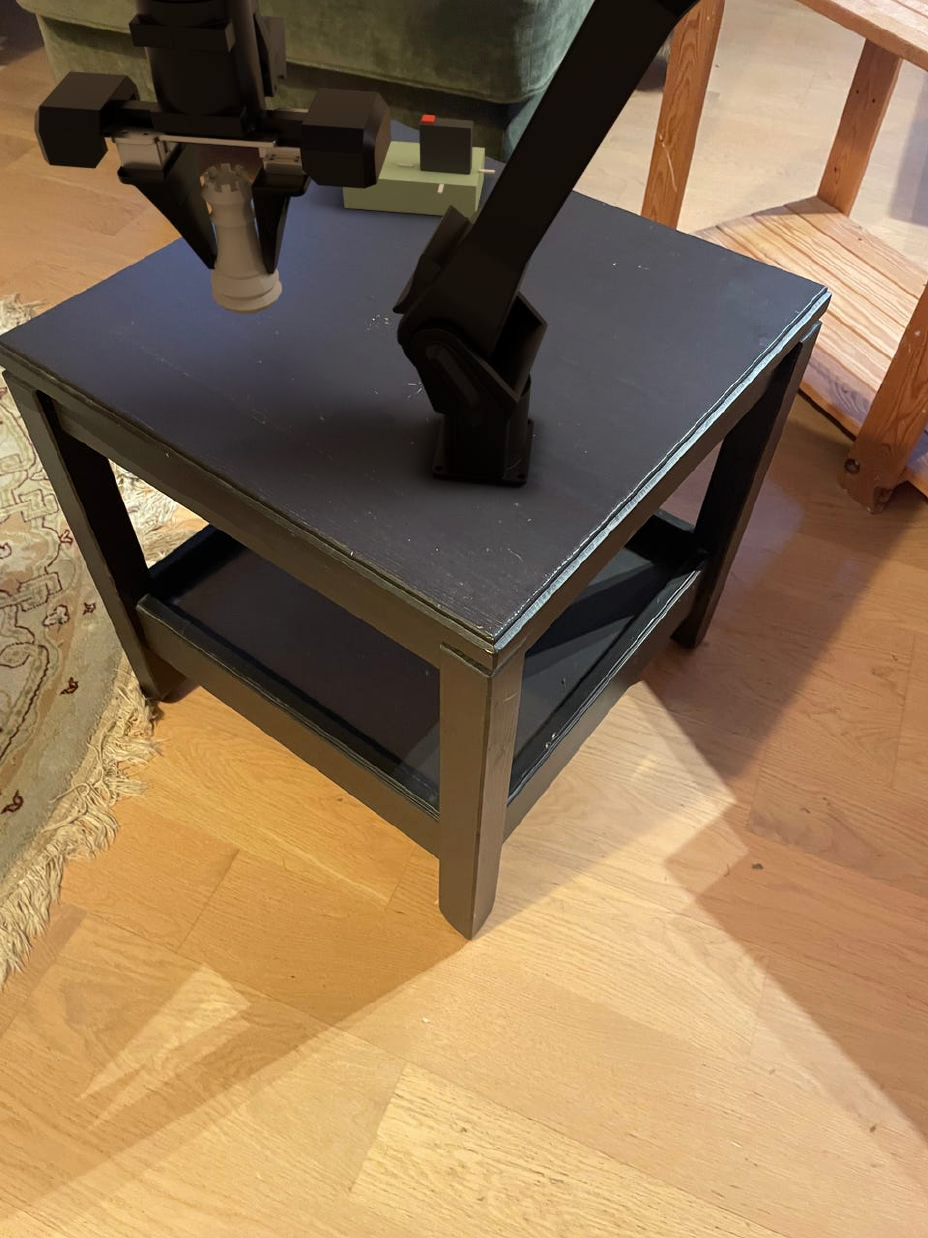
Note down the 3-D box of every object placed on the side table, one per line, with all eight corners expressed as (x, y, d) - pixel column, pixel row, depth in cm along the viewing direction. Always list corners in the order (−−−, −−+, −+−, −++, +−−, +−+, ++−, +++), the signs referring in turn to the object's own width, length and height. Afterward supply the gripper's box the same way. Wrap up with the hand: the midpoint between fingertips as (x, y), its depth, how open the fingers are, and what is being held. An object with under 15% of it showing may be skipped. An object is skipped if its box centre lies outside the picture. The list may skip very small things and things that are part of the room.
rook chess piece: (297, 298, 60) (279, 175, 53) (239, 325, 58) (214, 202, 51) (256, 269, 62) (235, 147, 55) (199, 294, 60) (170, 172, 53)
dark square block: (472, 166, 83) (473, 117, 79) (470, 174, 82) (471, 124, 78) (422, 162, 83) (421, 113, 80) (420, 170, 82) (418, 120, 79)
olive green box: (488, 230, 82) (489, 195, 79) (340, 218, 83) (336, 183, 80) (497, 180, 87) (499, 146, 85) (358, 170, 88) (356, 136, 86)
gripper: (400, -64, 50) (409, 212, 62) (67, -83, 51) (140, 192, 64) (364, 17, 43) (382, 308, 56) (-20, -8, 44) (81, 284, 57)
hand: (243, 267), depth 58 cm, fingers closed on rook chess piece, 3 cm apart
